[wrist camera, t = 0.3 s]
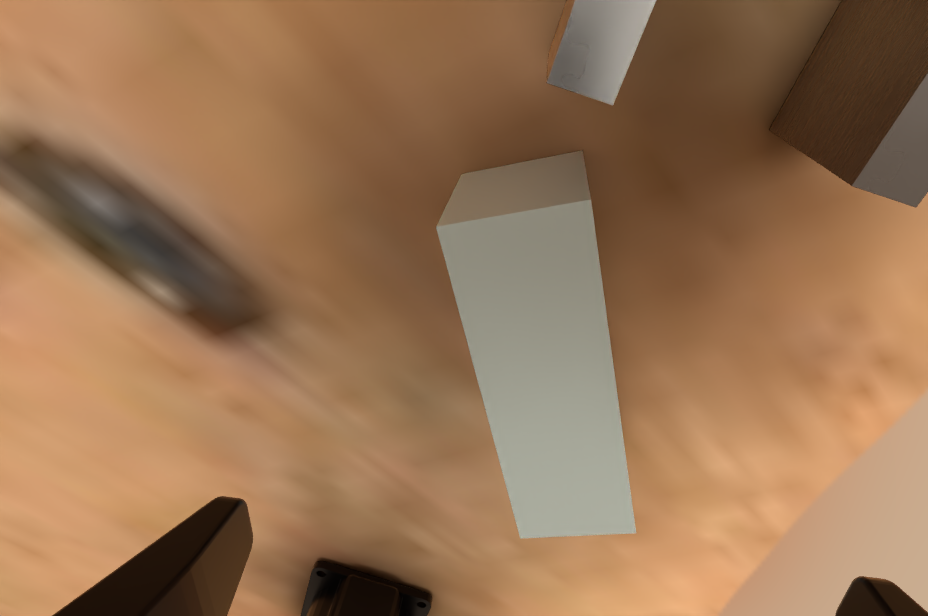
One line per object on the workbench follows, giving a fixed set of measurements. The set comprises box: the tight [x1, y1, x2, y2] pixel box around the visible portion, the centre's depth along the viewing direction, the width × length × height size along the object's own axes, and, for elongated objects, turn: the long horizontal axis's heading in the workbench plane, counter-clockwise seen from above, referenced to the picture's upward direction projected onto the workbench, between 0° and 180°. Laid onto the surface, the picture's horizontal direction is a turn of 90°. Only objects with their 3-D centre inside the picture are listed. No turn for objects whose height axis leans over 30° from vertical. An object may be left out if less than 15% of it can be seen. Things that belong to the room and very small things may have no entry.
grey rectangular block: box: [436, 150, 636, 538], centre depth 19 cm, size 12×4×5 cm, turn 13°
